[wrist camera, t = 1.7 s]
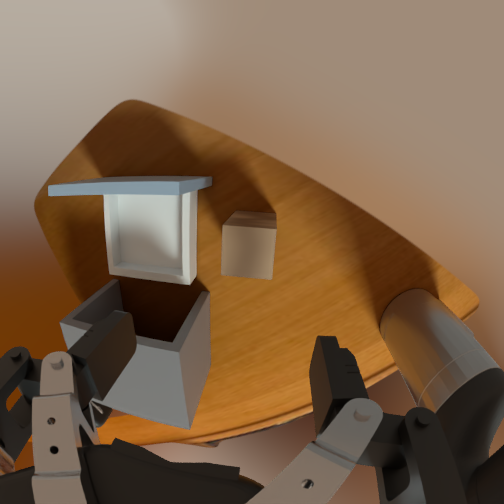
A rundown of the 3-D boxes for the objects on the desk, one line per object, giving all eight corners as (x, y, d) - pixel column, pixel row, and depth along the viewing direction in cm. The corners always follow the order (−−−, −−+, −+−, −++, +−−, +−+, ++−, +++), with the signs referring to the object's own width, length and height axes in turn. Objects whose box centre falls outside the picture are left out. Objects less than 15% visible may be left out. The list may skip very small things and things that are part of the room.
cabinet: (209, 292, 33) (178, 352, 21) (210, 365, 37) (190, 429, 25) (113, 278, 34) (59, 322, 22) (125, 348, 38) (88, 399, 26)
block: (276, 213, 30) (276, 229, 22) (272, 251, 31) (271, 279, 23) (236, 210, 30) (222, 225, 22) (234, 248, 31) (221, 275, 24)
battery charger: (129, 387, 41) (103, 432, 30) (117, 390, 41) (91, 432, 31) (104, 359, 39) (71, 401, 28) (93, 363, 40) (61, 403, 29)
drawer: (212, 176, 29) (179, 181, 19) (209, 276, 32) (182, 323, 22) (106, 177, 30) (48, 185, 19) (110, 265, 33) (62, 298, 23)
